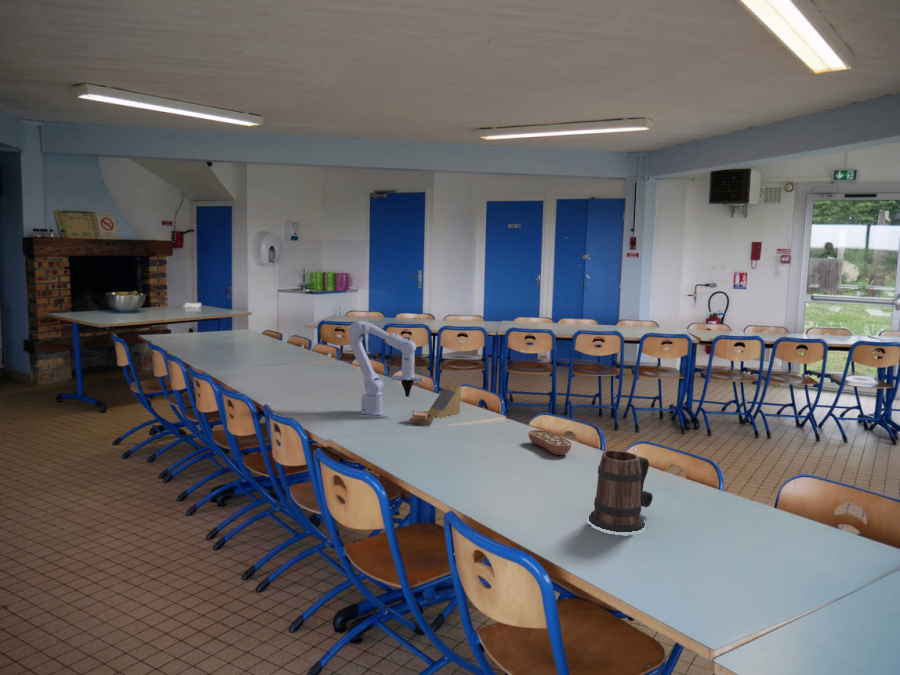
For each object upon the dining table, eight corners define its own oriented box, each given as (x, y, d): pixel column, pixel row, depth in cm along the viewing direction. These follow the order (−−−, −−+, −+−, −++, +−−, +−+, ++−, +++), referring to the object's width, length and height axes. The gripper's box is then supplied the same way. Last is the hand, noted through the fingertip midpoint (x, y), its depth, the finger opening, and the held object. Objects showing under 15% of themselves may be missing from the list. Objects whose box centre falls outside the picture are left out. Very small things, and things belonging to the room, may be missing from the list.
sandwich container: (423, 416, 301) (424, 384, 299) (447, 411, 311) (448, 380, 309) (436, 419, 294) (437, 387, 293) (459, 414, 305) (460, 383, 303)
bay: (409, 424, 283) (409, 418, 283) (413, 419, 293) (413, 412, 293) (429, 425, 282) (430, 419, 282) (433, 420, 292) (433, 413, 292)
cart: (412, 424, 285) (412, 409, 285) (414, 420, 291) (414, 406, 291) (425, 424, 285) (425, 410, 284) (427, 421, 291) (427, 407, 290)
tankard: (622, 541, 171) (626, 468, 169) (573, 520, 184) (577, 452, 182) (673, 521, 185) (678, 454, 183) (625, 503, 199) (629, 440, 196)
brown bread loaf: (523, 443, 261) (524, 431, 261) (544, 440, 265) (545, 429, 265) (555, 459, 240) (555, 446, 240) (577, 457, 245) (577, 444, 244)
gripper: (390, 367, 293) (390, 397, 294) (422, 369, 291) (421, 398, 293) (394, 365, 300) (393, 394, 301) (424, 366, 298) (424, 395, 300)
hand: (407, 396), depth 298 cm, fingers closed
